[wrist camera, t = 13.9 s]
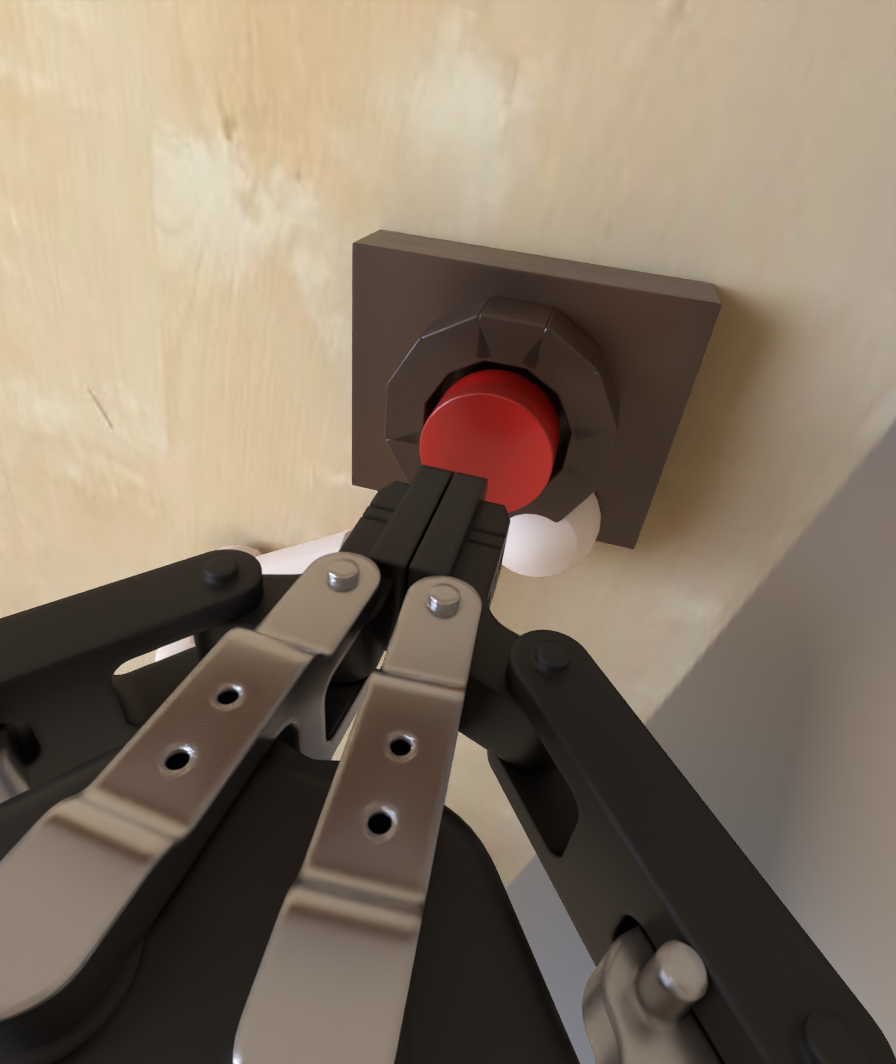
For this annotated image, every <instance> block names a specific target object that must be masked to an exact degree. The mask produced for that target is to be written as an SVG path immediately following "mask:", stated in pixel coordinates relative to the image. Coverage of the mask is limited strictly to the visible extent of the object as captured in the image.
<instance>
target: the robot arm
mask: <svg viewBox="0 0 896 1064" xmlns="http://www.w3.org/2000/svg"><path fill="white" fill-rule="evenodd" d="M487 486H488V479H487V478H483V477H478V476H473V475H469V474H464V473H460V472H456V473H455V472H454V471H450V470H446V469H441V468H437V467H432V466H428V465H422V466H421V467H420V469H419V471H418V472H417V474H416V476H415V477H414V479H413V481H412V482H411V484H408V483H404V482H400V481H394V482H392V483H391V484H389V485H387V486H385V487H384V488H382V489H380V490H379V491H378V492H377V494H376V495H375V497H374V499H373V500H372V502H371V503H370V506H368V508H367V509H366V511H365V512H364V514H363V517H361V518H360V520H359V521H358V523H357V524H356V526H355V527H354V529H353V530H352V532H351V533H350V535H349V536H348V538H347V539H346V541H345V542H344V544H343V545H342V547H341V548H340V550H339V551H338V552H335V553H330V554H327V555H324V556H321V557H319V558H317V559H316V560H315V561H313V562H312V563H311V564H310V565H309V566H308V567H307V569H306V570H305V571H304V572H303V573H302V574H262V568H261V564H260V563H259V561H258V560H257V559H256V558H255V557H254V556H253V555H251V554H249V553H247V552H244V551H240V550H234V549H222V550H215V551H211V552H207V553H204V554H201V555H198V556H195V557H191V558H188V559H185V560H182V561H179V562H176V563H173V564H170V565H166V566H163V567H160V568H157V569H154V570H151V571H148V572H145V573H141V574H138V575H135V576H132V577H129V578H126V579H123V580H119V581H116V582H113V583H110V584H107V585H104V586H101V587H98V588H94V589H91V590H88V591H85V592H82V593H79V594H76V595H73V596H69V597H66V598H63V599H60V600H57V601H54V602H51V603H47V604H44V605H41V606H38V607H35V608H32V609H29V610H26V611H22V612H19V613H16V614H13V615H10V616H7V617H4V618H1V619H0V1064H580V1062H579V1060H578V1058H577V1055H576V1053H575V1051H574V1049H573V1046H572V1044H571V1042H570V1039H569V1037H568V1035H567V1032H566V1030H565V1028H564V1025H563V1023H562V1021H561V1018H560V1016H559V1014H558V1012H557V1009H556V1007H555V1004H554V1002H553V1000H552V997H551V995H550V993H549V990H548V988H547V986H546V983H545V981H544V979H543V976H542V974H541V972H540V970H539V967H538V965H537V962H536V960H535V958H534V955H533V953H532V951H531V948H530V946H529V944H528V941H527V939H526V937H525V935H524V932H523V930H522V927H521V925H520V923H519V920H518V918H517V916H516V914H515V911H514V909H513V907H512V904H511V902H510V900H509V897H508V895H507V892H506V890H505V888H504V885H503V883H502V881H501V878H500V876H499V874H498V871H497V869H496V867H495V865H494V863H493V861H492V859H491V857H490V855H489V853H488V852H487V850H486V848H485V847H484V845H483V843H482V842H481V840H480V839H479V838H478V836H477V835H476V834H475V832H474V831H473V830H472V829H471V827H470V826H469V825H468V824H467V823H466V822H465V821H464V820H463V819H462V818H461V817H460V816H458V815H457V814H456V813H455V812H453V811H452V810H451V809H450V808H448V807H447V806H445V805H444V804H445V798H446V793H447V788H448V782H449V777H450V772H451V767H452V761H453V756H454V751H455V746H456V740H457V735H458V731H459V732H461V733H462V734H464V735H465V736H467V737H468V738H470V739H471V740H473V741H474V742H476V743H478V744H479V745H481V746H482V747H484V748H485V749H487V756H488V761H489V763H490V766H491V768H492V770H493V772H494V774H495V775H496V777H497V779H498V781H499V783H500V785H501V787H502V789H503V791H504V793H505V794H506V796H507V798H508V800H509V802H510V804H511V806H512V808H513V810H514V812H515V813H516V815H517V817H518V819H519V821H520V823H521V825H522V827H523V829H524V831H525V832H526V834H527V836H528V838H529V840H530V842H531V844H532V846H533V848H534V850H535V851H536V853H537V855H538V857H539V859H540V861H541V863H542V865H543V866H544V868H545V870H546V872H547V874H548V876H549V878H550V880H551V882H552V884H553V886H554V888H555V889H556V891H557V893H558V895H559V897H560V899H561V901H562V903H563V905H564V906H565V908H566V910H567V912H568V914H569V916H570V918H571V920H572V921H573V924H574V926H575V927H576V929H577V931H578V933H579V935H580V937H581V939H582V941H583V943H584V945H585V946H586V948H587V950H588V952H589V954H590V956H591V958H592V960H593V962H594V963H595V965H596V969H595V970H594V972H593V973H592V975H591V977H590V978H589V980H588V982H587V985H586V987H585V990H584V995H583V1005H582V1012H583V1021H584V1026H585V1030H586V1034H587V1036H588V1039H589V1042H590V1044H591V1048H592V1051H593V1054H594V1057H595V1062H596V1064H896V1058H895V1056H894V1054H893V1051H892V1049H891V1047H890V1045H889V1043H888V1041H887V1039H886V1038H885V1036H884V1034H883V1033H882V1031H881V1029H880V1028H879V1027H878V1025H877V1024H876V1022H875V1021H874V1019H873V1018H872V1017H871V1015H870V1014H869V1013H868V1012H867V1010H866V1009H865V1008H864V1007H863V1005H862V1004H861V1003H860V1002H859V1000H858V999H857V998H856V996H855V995H854V994H853V992H852V991H851V990H850V989H849V987H848V986H847V985H846V984H845V982H844V981H843V980H842V978H841V977H840V976H839V975H838V973H837V972H836V971H835V969H834V968H833V967H832V965H831V964H830V963H829V962H828V960H827V959H826V958H825V957H824V955H823V954H822V953H821V951H820V950H819V949H818V948H817V946H816V945H815V944H814V942H813V941H812V940H811V938H810V937H809V936H808V935H807V934H806V932H805V931H804V930H803V928H802V927H801V926H800V924H799V923H798V922H797V921H796V919H795V918H794V917H793V915H792V914H791V913H790V912H789V910H788V909H787V908H786V906H785V905H784V904H783V903H782V901H781V900H780V899H779V897H778V896H777V895H776V894H775V893H774V891H773V890H772V888H771V887H770V886H769V885H768V883H767V882H766V881H765V879H764V878H763V877H762V876H761V874H760V873H759V872H758V870H757V869H756V868H755V867H754V865H753V864H752V863H751V861H750V860H749V859H748V858H747V856H746V855H745V854H744V853H743V851H742V850H741V849H740V847H739V846H738V845H737V844H736V842H735V841H734V840H733V838H732V837H731V836H730V835H729V833H728V832H727V831H726V830H725V828H724V827H723V826H722V824H721V823H720V822H719V821H718V820H717V818H716V817H715V815H714V814H713V813H712V812H711V810H710V809H709V808H708V806H707V805H706V804H705V802H704V801H703V800H702V799H701V797H700V796H699V795H698V793H697V792H696V791H695V790H694V788H693V787H692V786H691V784H689V782H688V781H687V779H686V778H685V777H684V776H683V774H682V773H681V772H680V771H679V769H678V768H677V767H676V765H675V764H674V763H673V761H672V760H671V759H670V758H669V756H668V755H667V754H666V752H665V751H664V750H663V749H662V748H661V746H660V745H659V744H658V742H657V741H656V740H655V738H654V737H653V736H652V734H651V733H650V732H649V731H648V729H647V728H646V727H645V725H644V724H643V723H642V722H641V720H640V719H639V718H638V716H637V715H636V714H635V713H634V711H633V710H632V709H631V707H630V706H629V705H628V704H627V702H626V701H625V700H624V699H623V697H622V696H621V695H620V693H619V692H618V691H617V690H616V688H615V687H614V686H613V684H612V683H611V682H610V681H609V679H608V678H607V677H606V675H605V674H604V673H603V672H602V670H601V669H600V668H599V666H598V665H597V664H596V663H595V661H594V660H593V659H592V657H591V656H590V655H589V654H588V652H587V651H586V650H585V649H584V648H583V646H582V645H580V644H579V643H578V642H577V641H575V640H574V639H572V638H571V637H569V636H567V635H565V634H562V633H559V632H555V631H551V630H535V631H530V632H528V633H525V634H523V635H521V636H519V635H518V634H516V633H514V632H512V631H510V630H509V629H507V628H506V627H504V626H503V625H502V624H500V623H499V622H498V621H497V620H496V618H495V617H494V616H493V614H492V613H491V611H490V609H489V608H490V605H491V601H492V598H493V595H494V591H495V588H496V584H497V581H498V577H499V574H500V570H501V565H502V560H503V555H504V550H505V545H506V540H507V535H508V530H509V525H510V518H509V515H508V512H507V509H506V506H505V505H502V504H497V503H493V502H488V501H485V498H486V492H487ZM192 635H193V638H194V642H195V646H194V647H192V648H189V649H187V650H184V651H182V652H179V653H177V654H174V655H172V656H169V657H167V658H164V659H162V660H159V661H157V662H154V663H152V664H149V665H147V666H144V667H142V668H139V669H137V670H134V671H132V672H129V673H126V674H122V675H113V674H114V672H115V671H116V669H117V668H118V667H119V666H120V665H122V664H123V663H125V662H126V661H128V660H130V659H133V658H135V657H138V656H141V655H143V654H146V653H148V652H151V651H154V650H156V649H159V648H161V647H164V646H166V645H169V644H172V643H174V642H177V641H179V640H182V639H184V638H187V637H190V636H192ZM384 650H385V651H387V652H386V655H385V657H384V660H383V663H382V666H381V668H380V669H376V667H377V665H378V663H379V661H380V659H381V657H382V655H383V653H384ZM357 711H358V712H357ZM356 713H357V715H356ZM355 715H356V717H355ZM354 717H355V720H354V723H353V726H352V729H351V731H350V734H349V737H348V740H347V742H346V745H345V748H344V751H343V754H342V756H341V759H340V761H333V760H331V759H332V757H333V755H334V753H335V751H336V749H337V747H338V745H339V743H340V742H341V740H342V738H343V736H344V735H345V733H346V731H347V729H348V727H349V726H350V724H351V722H352V720H353V719H354Z"/></svg>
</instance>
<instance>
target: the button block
mask: <svg viewBox="0 0 896 1064" xmlns="http://www.w3.org/2000/svg"><path fill="white" fill-rule="evenodd" d="M720 308H721V303H720V300H719V297H718V295H717V292H716V289H715V287H714V285H713V284H711V283H705V282H698V281H692V280H686V279H680V278H674V277H668V276H661V275H655V274H649V273H643V272H637V271H631V270H624V269H618V268H612V267H606V266H600V265H594V264H587V263H581V262H575V261H569V260H563V259H557V258H550V257H544V256H538V255H532V254H526V253H520V252H513V251H507V250H501V249H495V248H489V247H483V246H477V245H470V244H464V243H458V242H452V241H446V240H440V239H433V238H427V237H421V236H415V235H409V234H403V233H396V232H390V231H384V230H378V231H376V232H374V233H372V234H370V235H368V236H366V237H364V238H362V239H360V240H358V241H356V242H354V243H353V252H352V485H356V486H360V487H364V488H369V489H373V490H377V491H379V490H380V489H382V488H384V487H385V486H387V485H389V484H391V483H392V482H394V481H400V482H404V483H408V484H411V482H412V481H413V479H414V477H415V476H416V474H417V472H418V471H419V469H420V467H421V466H422V462H421V457H420V438H421V433H422V430H423V427H424V425H425V423H426V421H427V419H428V418H429V416H430V415H431V413H432V412H433V410H434V409H435V407H436V406H437V404H438V403H439V402H440V400H441V399H442V397H443V396H444V394H445V393H446V391H447V390H448V389H449V388H450V387H451V386H452V385H453V384H454V383H455V382H456V381H458V380H459V379H461V378H462V377H464V376H466V375H468V374H471V373H473V372H477V371H481V370H488V369H498V370H506V371H510V372H514V373H517V374H519V375H522V376H524V377H526V378H527V379H529V380H531V381H532V382H534V383H535V384H536V385H538V386H539V387H540V388H541V389H542V390H543V391H544V392H545V394H546V395H547V396H548V397H549V399H550V400H551V402H552V404H553V405H554V408H555V410H556V412H557V415H558V419H559V425H560V438H559V444H558V448H557V452H556V456H555V461H554V465H553V469H552V472H551V476H550V479H549V481H548V483H547V485H546V487H545V488H544V490H543V491H542V493H541V494H540V495H539V496H538V497H537V498H536V499H535V500H533V501H532V502H531V503H529V504H528V505H526V506H525V507H523V508H520V509H518V510H516V511H513V512H509V513H508V515H509V518H512V517H514V516H516V515H522V514H536V515H540V516H543V517H546V518H548V519H550V520H552V521H554V522H559V521H561V520H563V519H564V518H565V517H566V516H567V515H568V514H569V513H571V512H572V511H573V510H574V509H575V508H576V507H578V506H579V505H580V504H581V503H582V502H583V501H584V500H586V499H587V498H588V497H589V496H590V495H591V494H592V493H594V494H595V496H596V498H597V499H598V504H599V508H600V513H601V521H600V530H599V533H598V535H597V538H596V540H595V541H600V542H604V543H608V544H613V545H617V546H622V547H626V548H630V549H634V548H635V546H636V543H637V540H638V537H639V534H640V532H641V529H642V526H643V523H644V520H645V518H646V515H647V512H648V509H649V506H650V504H651V501H652V498H653V495H654V493H655V490H656V487H657V484H658V481H659V479H660V476H661V473H662V470H663V467H664V465H665V462H666V459H667V456H668V453H669V451H670V448H671V445H672V442H673V439H674V437H675V434H676V431H677V428H678V425H679V423H680V420H681V417H682V414H683V411H684V409H685V406H686V403H687V400H688V397H689V395H690V392H691V389H692V386H693V384H694V381H695V378H696V375H697V372H698V370H699V367H700V364H701V361H702V358H703V356H704V353H705V350H706V347H707V344H708V342H709V339H710V336H711V333H712V330H713V328H714V325H715V322H716V319H717V316H718V314H719V311H720Z"/></svg>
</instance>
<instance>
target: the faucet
mask: <svg viewBox="0 0 896 1064" xmlns="http://www.w3.org/2000/svg"><path fill="white" fill-rule="evenodd" d="M600 521H601V513H600V508H599V504H598V499H597V498H596V496H595V494H594V493H592V494H591V495H590V496H589V497H588V498H587V499H586V500H584V501H583V502H582V503H581V504H580V505H579V506H578V507H576V508H575V509H574V510H573V511H572V512H571V513H569V514H568V515H567V516H566V517H565V518H564V519H563V520H561V521H559V522H554V521H552V520H550V519H548V518H546V517H543V516H540V515H536V514H522V515H516V516H514V517H512V518H510V525H509V530H508V535H507V540H506V545H505V550H504V555H503V560H502V565H503V566H505V567H506V568H508V569H510V570H511V571H513V572H515V573H518V574H521V575H524V576H530V577H547V576H554V575H558V574H561V573H564V572H566V571H568V570H569V569H571V568H573V567H574V566H576V565H577V564H578V563H579V562H581V561H582V560H583V559H584V557H585V556H586V555H587V554H588V553H589V552H590V551H591V549H592V547H593V544H594V542H595V540H596V538H597V535H598V533H599V530H600ZM353 529H354V528H352V529H349V530H345V531H342V532H338V533H335V534H332V535H328V536H325V537H321V538H318V539H314V540H311V541H307V542H304V543H300V544H297V545H293V546H290V547H286V548H283V549H280V550H276V551H273V552H269V553H266V554H262V553H261V552H260V551H259V550H257V549H254V548H250V547H247V546H243V545H239V544H237V545H232V546H226V547H221V548H219V549H218V550H222V549H234V550H240V551H244V552H247V553H249V554H251V555H253V556H254V557H255V558H256V559H257V560H258V561H259V563H260V564H261V568H262V574H302V573H303V572H304V571H305V570H306V569H307V567H308V566H309V565H310V564H311V563H312V562H313V561H315V560H316V559H317V558H319V557H321V556H324V555H327V554H330V553H335V552H338V551H339V550H340V548H341V547H342V545H343V544H344V542H345V541H346V539H347V538H348V536H349V535H350V533H351V532H352V530H353ZM194 646H195V642H194V638H193V635H192V636H190V637H187V638H184V639H182V640H179V641H177V642H174V643H172V644H169V645H166V646H164V647H161V648H159V649H157V652H156V658H155V662H157V661H159V660H162V659H164V658H167V657H169V656H172V655H174V654H177V653H179V652H182V651H184V650H187V649H189V648H192V647H194Z"/></svg>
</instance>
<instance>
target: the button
mask: <svg viewBox="0 0 896 1064" xmlns="http://www.w3.org/2000/svg"><path fill="white" fill-rule="evenodd" d="M559 438H560V425H559V419H558V415H557V412H556V410H555V408H554V405H553V404H552V402H551V400H550V399H549V397H548V396H547V395H546V394H545V392H544V391H543V390H542V389H541V388H540V387H539V386H538V385H536V384H535V383H534V382H532V381H531V380H529V379H527V378H526V377H524V376H522V375H519V374H517V373H514V372H510V371H506V370H498V369H488V370H481V371H477V372H473V373H471V374H468V375H466V376H464V377H462V378H461V379H459V380H458V381H456V382H455V383H454V384H453V385H452V386H451V387H450V388H449V389H448V390H447V391H446V393H445V394H444V396H443V397H442V399H441V400H440V402H439V403H438V404H437V406H436V407H435V409H434V410H433V412H432V413H431V415H430V416H429V418H428V419H427V421H426V423H425V425H424V427H423V430H422V433H421V438H420V457H421V462H422V465H428V466H432V467H437V468H441V469H446V470H450V471H454V472H455V473H456V472H460V473H464V474H469V475H473V476H478V477H483V478H487V479H488V486H487V492H486V498H485V501H488V502H493V503H497V504H502V505H505V506H506V509H507V512H508V513H509V512H513V511H516V510H518V509H520V508H523V507H525V506H526V505H528V504H529V503H531V502H532V501H533V500H535V499H536V498H537V497H538V496H539V495H540V494H541V493H542V491H543V490H544V488H545V487H546V485H547V483H548V481H549V479H550V476H551V472H552V469H553V465H554V461H555V456H556V452H557V448H558V444H559Z"/></svg>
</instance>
